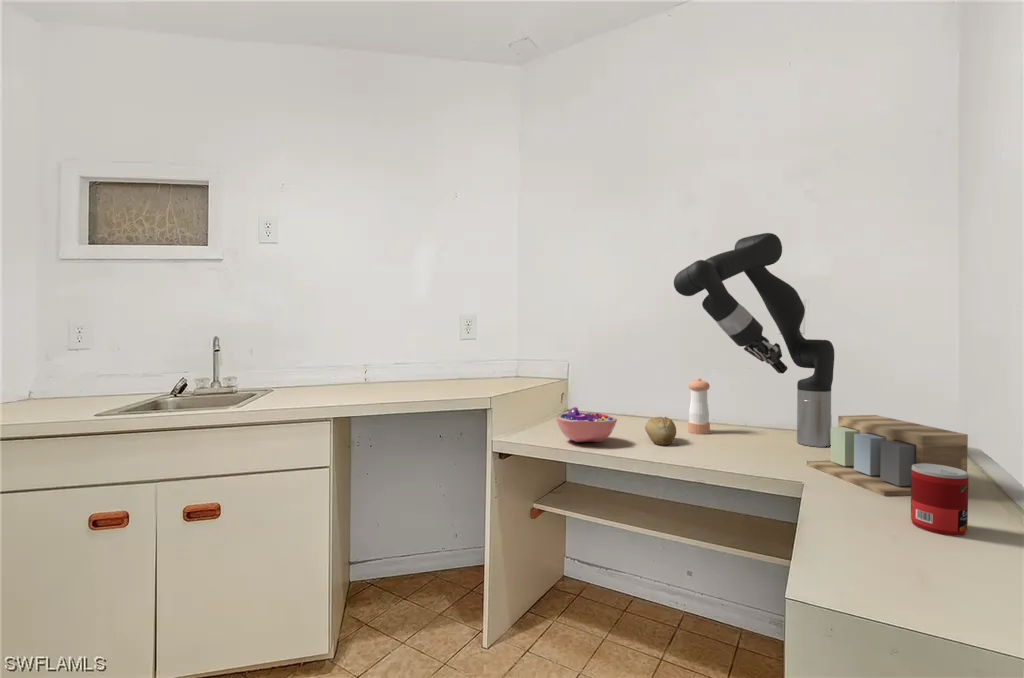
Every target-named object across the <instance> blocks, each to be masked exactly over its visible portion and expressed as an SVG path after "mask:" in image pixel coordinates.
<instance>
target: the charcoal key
mask: <svg viewBox="0 0 1024 678" xmlns="http://www.w3.org/2000/svg"><path fill="white" fill-rule="evenodd" d="M913 464H916V445H915V444H911V443H907V442H903V441H881V468H880V479H881V480H884V481H886V482H889V483H892V484H895V485H897V486H911V468H912V465H913Z"/></svg>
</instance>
